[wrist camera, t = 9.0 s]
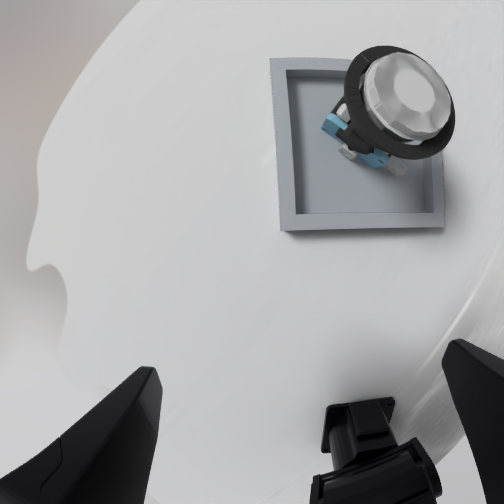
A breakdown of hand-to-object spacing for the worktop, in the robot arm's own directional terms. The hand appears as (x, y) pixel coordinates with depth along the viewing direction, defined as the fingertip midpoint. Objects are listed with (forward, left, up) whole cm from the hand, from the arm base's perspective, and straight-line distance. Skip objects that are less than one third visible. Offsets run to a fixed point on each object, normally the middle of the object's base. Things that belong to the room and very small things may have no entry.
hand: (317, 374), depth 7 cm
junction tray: (+9, -5, -13) cm, 17 cm away
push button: (+9, -5, -13) cm, 17 cm away
